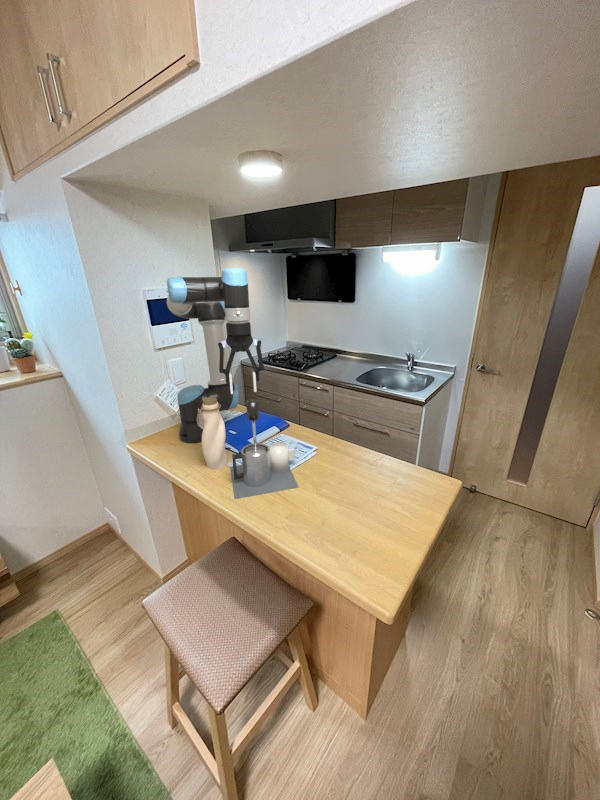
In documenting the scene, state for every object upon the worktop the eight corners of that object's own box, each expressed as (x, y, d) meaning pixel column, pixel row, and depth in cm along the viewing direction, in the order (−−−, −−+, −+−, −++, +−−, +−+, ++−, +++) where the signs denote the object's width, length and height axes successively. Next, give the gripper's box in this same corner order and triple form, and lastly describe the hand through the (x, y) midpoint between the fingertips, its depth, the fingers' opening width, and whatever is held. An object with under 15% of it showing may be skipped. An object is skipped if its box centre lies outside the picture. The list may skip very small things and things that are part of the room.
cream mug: (267, 463, 123) (266, 443, 120) (292, 460, 126) (291, 439, 123) (271, 474, 116) (270, 453, 113) (297, 470, 119) (296, 449, 116)
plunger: (243, 449, 112) (239, 398, 105) (264, 446, 114) (261, 396, 107) (246, 460, 106) (242, 406, 99) (268, 456, 108) (265, 404, 101)
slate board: (230, 468, 122) (229, 466, 122) (285, 460, 128) (285, 458, 127) (234, 501, 104) (234, 499, 104) (298, 489, 110) (298, 487, 109)
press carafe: (233, 475, 116) (230, 446, 112) (268, 469, 120) (266, 441, 115) (236, 491, 108) (233, 460, 103) (273, 484, 111) (271, 454, 107)
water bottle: (213, 477, 117) (204, 407, 107) (198, 469, 122) (188, 401, 112) (234, 464, 125) (227, 398, 115) (219, 457, 130) (212, 393, 120)
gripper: (204, 324, 93) (212, 397, 101) (271, 321, 97) (274, 392, 105) (205, 321, 100) (213, 390, 107) (268, 319, 104) (271, 386, 112)
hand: (243, 391), depth 106 cm, fingers open, 7 cm apart
